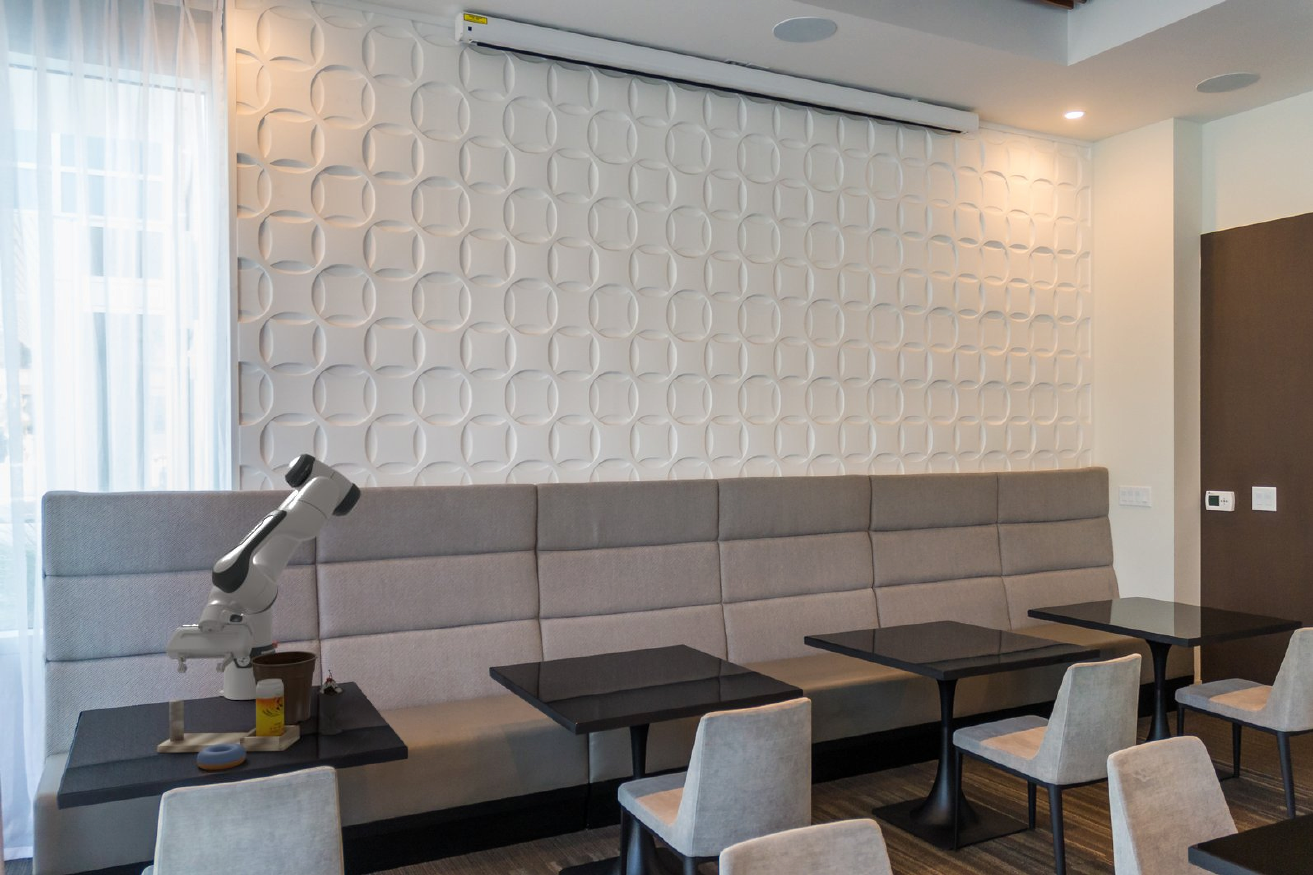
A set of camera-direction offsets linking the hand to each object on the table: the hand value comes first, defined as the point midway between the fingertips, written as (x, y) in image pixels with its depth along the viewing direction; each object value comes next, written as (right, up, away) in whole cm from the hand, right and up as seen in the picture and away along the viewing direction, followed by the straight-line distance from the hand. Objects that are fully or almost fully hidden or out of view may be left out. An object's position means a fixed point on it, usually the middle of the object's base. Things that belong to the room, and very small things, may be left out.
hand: (200, 671), depth 243 cm
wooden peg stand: (+12, -15, -12) cm, 22 cm away
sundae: (+33, -15, -2) cm, 36 cm away
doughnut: (+16, -15, -25) cm, 34 cm away
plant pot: (+17, -15, +10) cm, 25 cm away
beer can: (+22, -15, -12) cm, 29 cm away
